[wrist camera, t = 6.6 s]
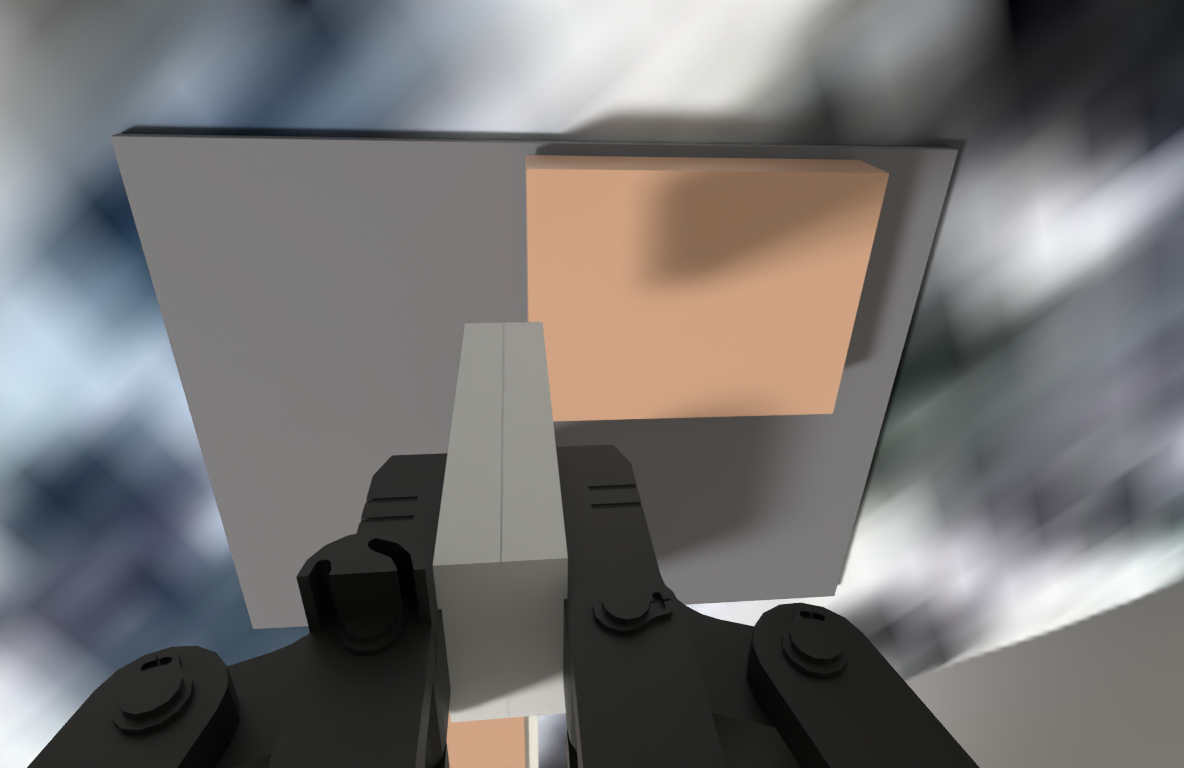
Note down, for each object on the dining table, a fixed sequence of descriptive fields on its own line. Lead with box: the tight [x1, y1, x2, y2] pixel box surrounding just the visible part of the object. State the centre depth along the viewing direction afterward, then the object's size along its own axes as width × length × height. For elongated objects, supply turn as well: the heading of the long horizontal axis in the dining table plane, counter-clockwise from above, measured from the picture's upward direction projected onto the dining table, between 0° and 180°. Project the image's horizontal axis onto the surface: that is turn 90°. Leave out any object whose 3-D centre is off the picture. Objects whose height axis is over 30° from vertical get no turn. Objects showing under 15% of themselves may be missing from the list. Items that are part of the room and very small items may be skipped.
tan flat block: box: [447, 710, 538, 768], centre depth 20 cm, size 7×2×9 cm, turn 178°
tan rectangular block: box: [525, 155, 889, 421], centre depth 19 cm, size 7×2×9 cm
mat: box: [110, 134, 958, 629], centre depth 22 cm, size 17×22×1 cm
